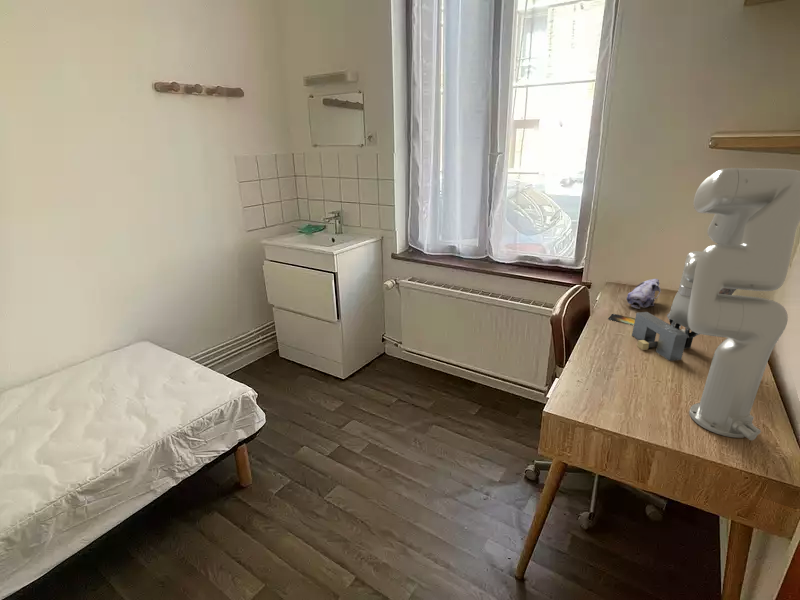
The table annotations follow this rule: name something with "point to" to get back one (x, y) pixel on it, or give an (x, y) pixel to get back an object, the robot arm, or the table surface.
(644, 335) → the block
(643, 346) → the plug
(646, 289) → the lavender lump
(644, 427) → the table surface
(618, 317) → the smartphone
